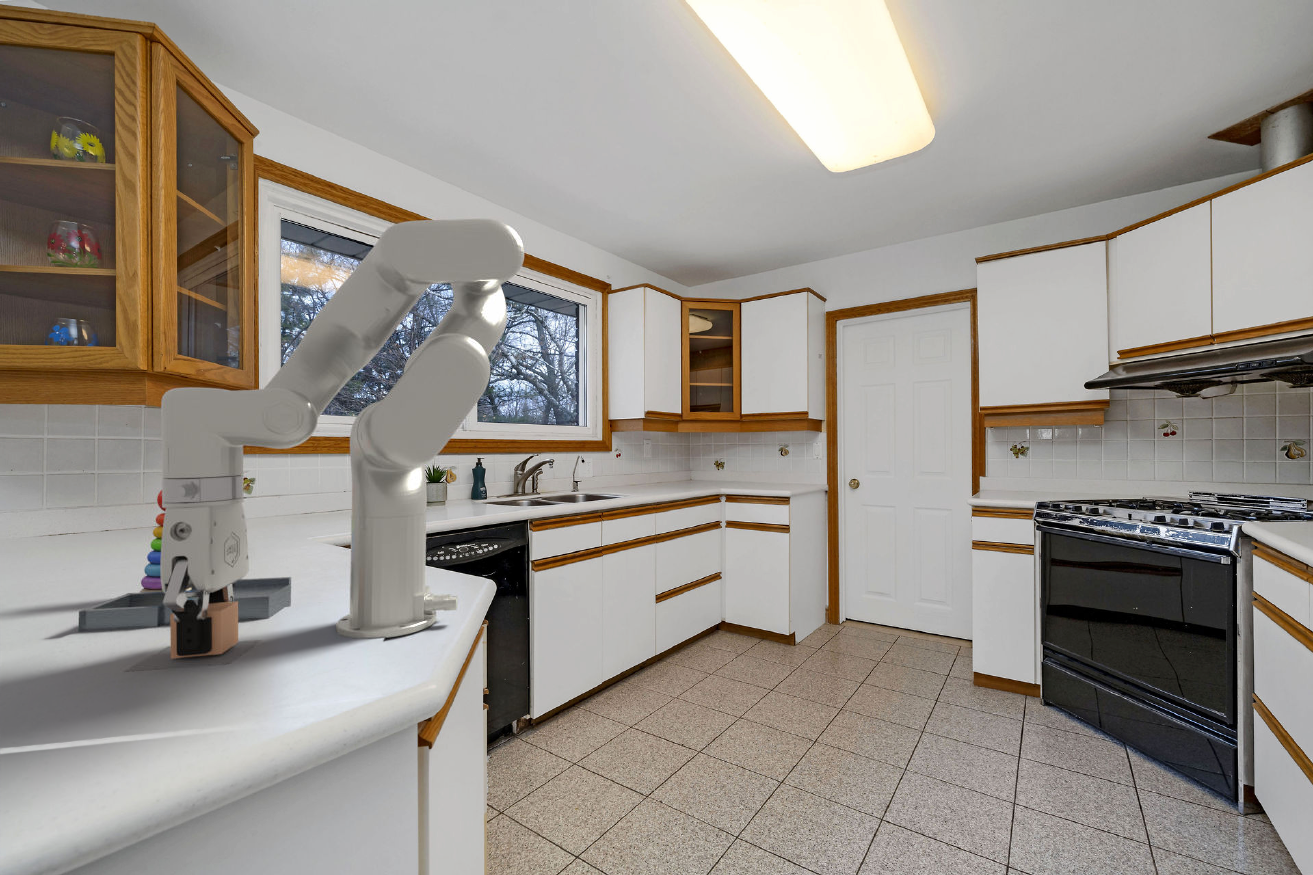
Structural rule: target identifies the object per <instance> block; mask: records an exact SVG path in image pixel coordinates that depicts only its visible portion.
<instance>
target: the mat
mask: <svg viewBox="0 0 1313 875" xmlns="http://www.w3.org/2000/svg"><path fill="white" fill-rule="evenodd" d="M261 641H262V639H256V640H255V639H254V640H242V641H239V640H238V643H236V644H235V645H233V646H232V647H231V648H229V649H228V650H226V651H225V652H223V653H222V654H215V655H204V656H193V657H182V658H171V645H169V646H166V647H164V648H163V649H161V650H158V651H157V652H156V653H153V654H152V655H150V656H148V657H146V658H145V659H143V660H141V661H139V662H137V663H135V664H134V665H133V666H131V667H129V668H127V669H125V670H123V672H122V673H129V672H141V671H142V672H143V671H155V670H166V669H181V668H194V667H195V668H196V667H205V666H207V667H210V666H219V665H221V666H222V665H230V664H232V663H233V662H234V661H236V659H238V658H240V657H241V656H242V655H244V654H245V653H246V652H247V651H249V650H250V649H252V648H253V647H254V646H255V645H257V644H259V643H260V642H261Z"/></svg>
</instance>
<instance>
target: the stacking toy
mask: <svg viewBox="0 0 1313 875" xmlns="http://www.w3.org/2000/svg"><path fill="white" fill-rule="evenodd" d="M156 502H157V505H158V507H159V508H160V510H162V511H163V512H161V513H159V514H158V515H157V516H156V518H155V523H156V524H157V525H158V526H156V527H155V528H154V529H153V531H152V536H153V537H154V539H152V541H151V542H150V548H151V549H152V551H149V552H148V554H147V556H146V559H147V561H148V564H146V566H144V569H143V571H144V573H145V576H143V578H141V580H140V584H141V587H143V588H142V589H141V590H140V591H139V592H138V593H143V592H163V590H162V586H161V544H162V532H163V524H164V517H165V511H166V508H163V507H162V489H161V490H160V491H159V493H158V494H157V498H156ZM187 590H191V588H189V589H187Z"/></svg>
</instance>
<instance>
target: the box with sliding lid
mask: <svg viewBox="0 0 1313 875" xmlns="http://www.w3.org/2000/svg"><path fill="white" fill-rule="evenodd" d="M196 591H200V590H197V589H196V587H191V590H186V592H196ZM233 596H234V601H233V602H236V601H238V621H251V620H252V621H255V620H266V619H267V620H268V619H271V618H272V617H273V616H275V615H276V614H278V613H279V612H281V611H282V610H284V609H285V608H290V607H291V605H292V604H291V602H292V577H291V576H284V577H264V578H263V577H262V578H242V579H240V580H238V581H236V582H235V587H234V588H233ZM164 597H165V593H164V592H143V593H139V592H127V593H125V594H122V595H120V596H117V597H114V598H111V599H110V600H107V601H106V600H105V601H104V602H100V603H98V604H95V605H92V606H90V607H87V608H84V609H81V610H79V611H78V626H77V627H78V629H77V630H78V632H92V631H93V632H94V631H96V632H97V631H108V630H109V631H110V630H128V629H141V628H142V629H143V628H145V629H146V628H157V627H160V626H166V625H170V615H171V614H173V612H172V610H171V609H169V608H168V607H166V606H164V604H163V600H164ZM187 599H188V600H194V602H195V603H196V604H198V597H191V598H187Z"/></svg>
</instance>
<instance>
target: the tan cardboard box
mask: <svg viewBox="0 0 1313 875" xmlns="http://www.w3.org/2000/svg"><path fill="white" fill-rule="evenodd" d="M197 605H198V604H197ZM207 617H212V650H211V651H210V652H208V653H206V654H196V655H185V656H178V655H177V637H176V622H175V621H174V613H173V614H171V615H170V628H169V629H170V630H169V631H170V646H171V658H182V657H193V656H204V655H215V654H222V653H223V652H225V651H226V650H228V649H229V648H231V647H232V646H233V645H235V644H236V643H238V641H239V620H238V601H236V602H222V603H208V614H207Z"/></svg>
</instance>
